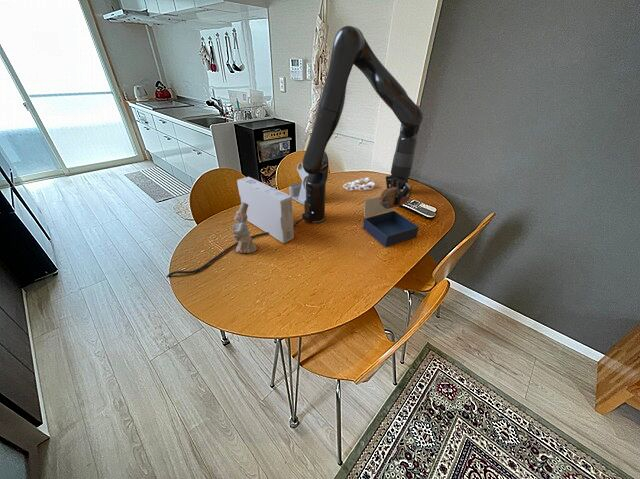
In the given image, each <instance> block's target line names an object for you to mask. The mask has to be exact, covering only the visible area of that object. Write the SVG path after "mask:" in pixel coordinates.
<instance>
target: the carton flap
mask: <svg viewBox="0 0 640 479" xmlns="http://www.w3.org/2000/svg"><path fill="white" fill-rule="evenodd" d="M379 199H380V196H376V197H375V196H374V197H372V198H367V199H364V202H363V205H364V206H363V208H364V209H363V217H364V218H368V217H372V216H376V215H379V214H383V213H387V212H391V211H395V208H396V207H393V208H389V209H386V208H384V207H383V206H381V204H380V202H379Z"/></svg>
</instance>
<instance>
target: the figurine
mask: <svg viewBox="0 0 640 479" xmlns="http://www.w3.org/2000/svg"><path fill="white" fill-rule="evenodd" d="M247 209H248V204H247V203H244V202H242V203H241V202H240V205H239V208H238V210H236V212H235V215H233V216H234V219H233V220H234V222H233V224H232V228H231V229H232V230H231V234H233V236H232V239H234V241H235V243H237V242H239V243H238V244H237V245H236V246H235V247H236V248H235V252H237V253H240V254H246V253H247V254H251V253H253V252H255V251H257V249H258V248H257V245H256V244H255V242H254V240H253V238H250V234H251V231H250V230H249V229H248V228H249V227H248V223H247V218H248V216H247V215H246V213H247Z"/></svg>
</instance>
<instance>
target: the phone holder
mask: <svg viewBox="0 0 640 479" xmlns="http://www.w3.org/2000/svg"><path fill="white" fill-rule="evenodd" d="M296 171H297V173H298V176H299V177H300V179H301V182H296V183H293V184H290V185H289V186H288V187H289V191H288V192H289V195H290V196H291V197H292V200H294V201H296V202H297V203H299V204H301V205H302V206H304V201H305V200H306V179H307V177H308V175H309V174H308V173H306V172H305V170H304V168H303V164H302V162H299V163H298V164H297V167H296Z"/></svg>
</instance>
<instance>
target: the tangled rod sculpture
mask: <svg viewBox="0 0 640 479" xmlns="http://www.w3.org/2000/svg"><path fill="white" fill-rule="evenodd" d="M362 182H364V183H365V184H364V183H363V184H361V183H362ZM376 186H377V184H376V183H375V182H374V181H372V180H371V178H370V177H369V176H367V177H365V178H364V177H361V178H360V179H356V180H353V181H348V182H345V183H344V184H343V186H342V187H343V188H344V189H345V190H346V191H350V192H352V191H356V190H358V191H361V192H363V191H366V190H369V188H370V190H372V189H373V188H374V187H376Z"/></svg>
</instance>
